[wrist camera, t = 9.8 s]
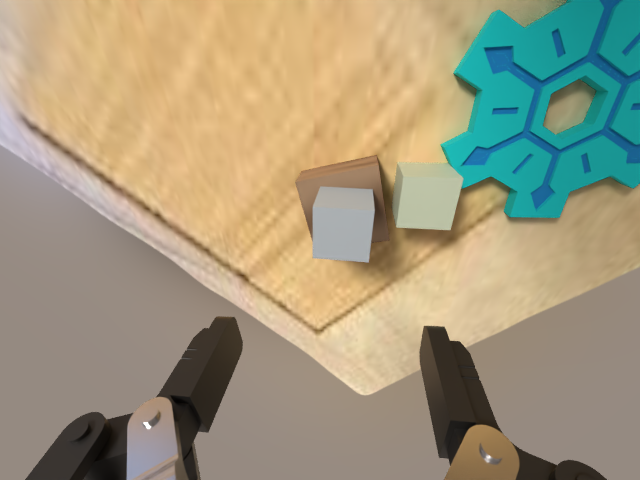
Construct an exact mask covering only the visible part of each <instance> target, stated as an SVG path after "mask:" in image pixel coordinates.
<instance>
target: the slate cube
mask: <svg viewBox="0 0 640 480" xmlns="http://www.w3.org/2000/svg"><path fill="white" fill-rule="evenodd" d="M374 213H375V208H374V198H373V189H359V188H340V187H321V186H320V189H319V191H318V194H317V197H316V199H315V202H314V205H313V258H319V259H331V260H344V261H356V262H369V256H370V247H371V238H372V230H373V221H374Z"/></svg>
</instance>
